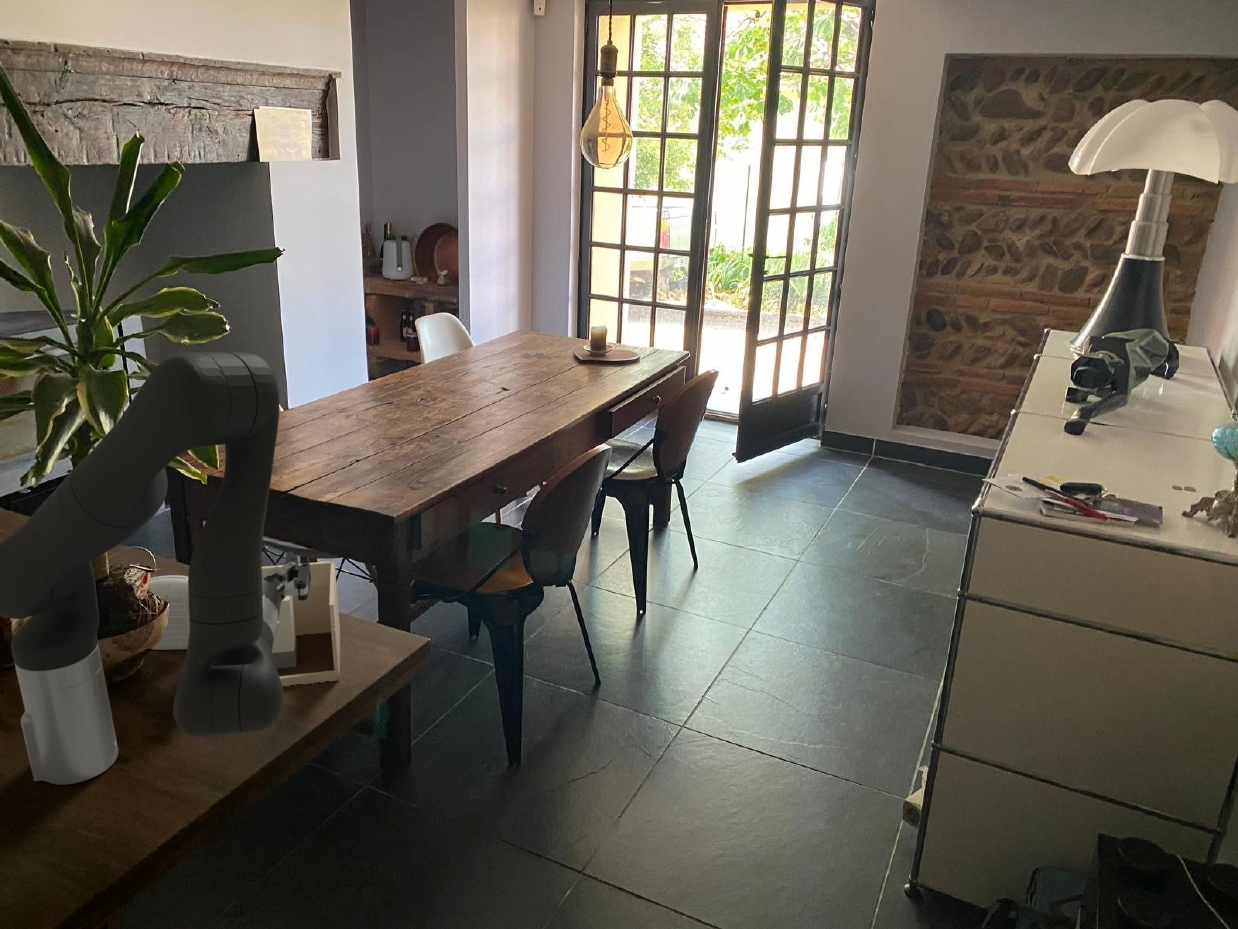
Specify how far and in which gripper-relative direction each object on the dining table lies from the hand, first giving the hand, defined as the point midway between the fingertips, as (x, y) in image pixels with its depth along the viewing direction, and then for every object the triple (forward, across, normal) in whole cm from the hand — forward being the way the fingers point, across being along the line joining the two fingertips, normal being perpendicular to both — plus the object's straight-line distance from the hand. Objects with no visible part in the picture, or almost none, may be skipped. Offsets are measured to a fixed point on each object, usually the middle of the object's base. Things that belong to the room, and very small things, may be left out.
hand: (257, 560), depth 126 cm
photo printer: (+22, +16, +25) cm, 37 cm away
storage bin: (+14, 0, +25) cm, 28 cm away
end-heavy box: (+14, 0, +25) cm, 29 cm away
